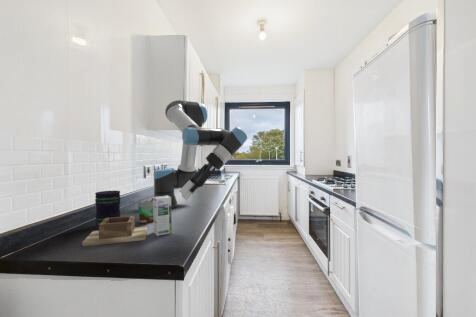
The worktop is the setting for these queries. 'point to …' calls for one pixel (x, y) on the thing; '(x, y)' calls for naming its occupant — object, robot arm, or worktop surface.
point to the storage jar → (107, 205)
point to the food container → (146, 212)
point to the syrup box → (162, 215)
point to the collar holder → (116, 231)
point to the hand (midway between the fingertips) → (182, 195)
